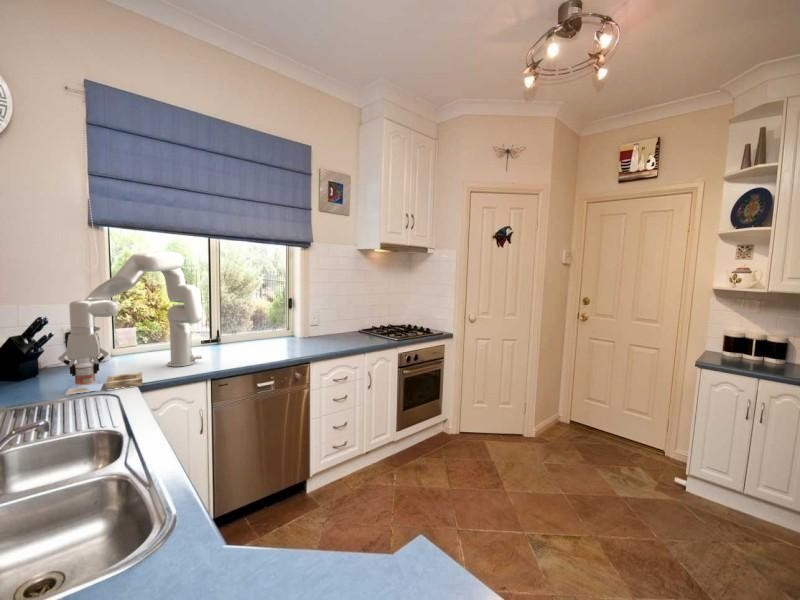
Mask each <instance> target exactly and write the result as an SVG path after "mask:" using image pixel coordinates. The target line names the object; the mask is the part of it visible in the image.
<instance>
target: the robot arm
mask: <svg viewBox="0 0 800 600" xmlns="http://www.w3.org/2000/svg"><path fill="white" fill-rule="evenodd" d="M183 265H184V257H183V256H182V254H181V253H179V252H176V251H155V252H150V253H149V252H141V253H140V252H138V253H134V254H132V255H131V256H129V257H128V259H127V260H126V261H125V262H124V264H123V265H122V266H121V267H120V269H119V270H118V271H117V272H116V273H115V274H114V275H113V276H112V277H110V278H109V279H107V280H106V281H104V282H103V283H102V284H101V283H100V284H99V285H98V286H97V287H95V288H94V289H93V290H92V291H90V293H89V294H88V296H87V297H86V298H85V300H83V299H82V300H73V301H71V302H70V303H69V322H70V323H69V325H70V334H68V337H67V342H66V351H65V352H64V353H62V354H61V355H60V356H59V357H58V358H57V359H58V361H60V362H63V364H65V365H66V366H68V367H69V375H71V377H75V361H77V359H82V358H92V361H93V362H94V374H95V375H97V373H98V372H99V371H100V363H102V361H103V360H104V359H105V358H106V357H108V356H109V355H110V354H109V353H110V352H108V351H106V350H104V349H103V348H102V347H101V341H100V337H99V333H98V331H100V327H99V326H96V317H97V318H109V317H110V318H111V317H113V316H116V314H117V313H118V312H119V310H120V306H119V304H118V303H117V302H116V301H115V300H112V298H113V297H115V296H117V295H118V294H120V293H124V292H127V291H128V290H129V291H130V290H131V289H133V288H134V287H136V285H137V284H138V283H139V281H140V280H141V279H142V278H143V276H144V275H145V274H146V273H147V272H150V273H151V272H152V273H153V272H154V273H156V272H161V273H162V275H163V277H164V280H165V286H166V287H165V289H166V294H167V298H168V300H170V301H171V302H173V303H180V304H174V305H171V306H170V307H169V309H168V310H167V314H166V316H167V321H168V325H169V343H170V344H169V345H170V361H168V362H167V364H166V365H167V366H168V367H171V366H172V368H176V367H177V368H180V366H181V367H188V366H192V365H194V364H195V363H196V360H202V358H203V357H202V355H199V354H198V355H193V353H192V328H191V326H190V324H191V325H192V324H194V325H195V324H198V323H200V322H201V321H202V319H203V314H204V312H203V304H202V297H201V292H200V290H199V289H198V287H197V286H195V285H193V284H187V283H186V280H185V275H184V272H183V270H182V269H181V267H183ZM181 303H182V304H181ZM101 354H102V355H101ZM100 355H101V356H100ZM99 356H100V357H99ZM65 357H66V358H67V359H66V358H65Z"/></svg>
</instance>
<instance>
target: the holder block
mask: <svg viewBox="0 0 800 600" xmlns="http://www.w3.org/2000/svg"><path fill="white" fill-rule="evenodd" d="M130 386H136V387H142V386H143V373H142V372H134V373H125V374H114V375H107V378H106V381H105V390H106V389H114V390H116V389H115V388H121V389H123V388H122V387H129V388H131V387H130Z"/></svg>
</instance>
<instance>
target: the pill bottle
mask: <svg viewBox="0 0 800 600" xmlns="http://www.w3.org/2000/svg"><path fill="white" fill-rule="evenodd" d="M76 362H77V363H74V365H75V376H74V384H75V386H85V385H91V384H95V383H96V374H94V364H95V362H94V361H93V358H82V359H76Z"/></svg>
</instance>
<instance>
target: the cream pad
mask: <svg viewBox="0 0 800 600" xmlns="http://www.w3.org/2000/svg"><path fill="white" fill-rule="evenodd" d="M87 390H89V389H87V388H85V386H84V387H81V388H80V387H79V388H78V389H77V388H75V389H74V388H73V389H69V388H68V389H67V390H66V391H65V395H66V396H70V395H69V394H74V395H77V394H76V393H81V394H84V393H83V392H87ZM65 395H64V396H65Z"/></svg>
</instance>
